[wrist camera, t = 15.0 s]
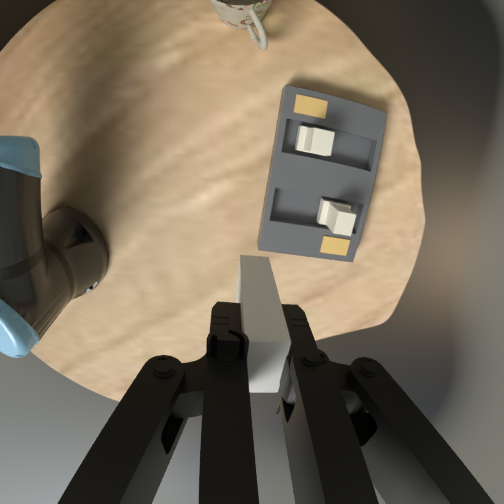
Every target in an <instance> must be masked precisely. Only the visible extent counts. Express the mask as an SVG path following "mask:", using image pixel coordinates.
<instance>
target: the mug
mask: <svg viewBox="0 0 504 504" xmlns="http://www.w3.org/2000/svg"><path fill="white" fill-rule="evenodd" d="M209 1H210V2H211V4H212V5H213V7H214V8H215V10H216V11H217V13H218V15H219V16H220V18H221V19H222V21H223V22H224V23H225V24H226V25H228V26H230V27H232V28H236V29H248V31H249V34H250V36H251V38H252V40H253V42H254V43H255V44H256V45H257V46H258V47H259V48H260V49H262V50H266V49H267V47H268V42H267V37H266V33H265V30H264V27H263V25H262V23H261V20H262V19H263V17H264V16H265V14H266V12H267V10H268V8H269V7H270V5H271V3H272V1H273V0H209ZM254 26H256V28H257V30H258V33H259V37H260V40H259V38H258V37H257V35H256V34H255V32H254V30H253V29H252V27H254Z"/></svg>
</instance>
